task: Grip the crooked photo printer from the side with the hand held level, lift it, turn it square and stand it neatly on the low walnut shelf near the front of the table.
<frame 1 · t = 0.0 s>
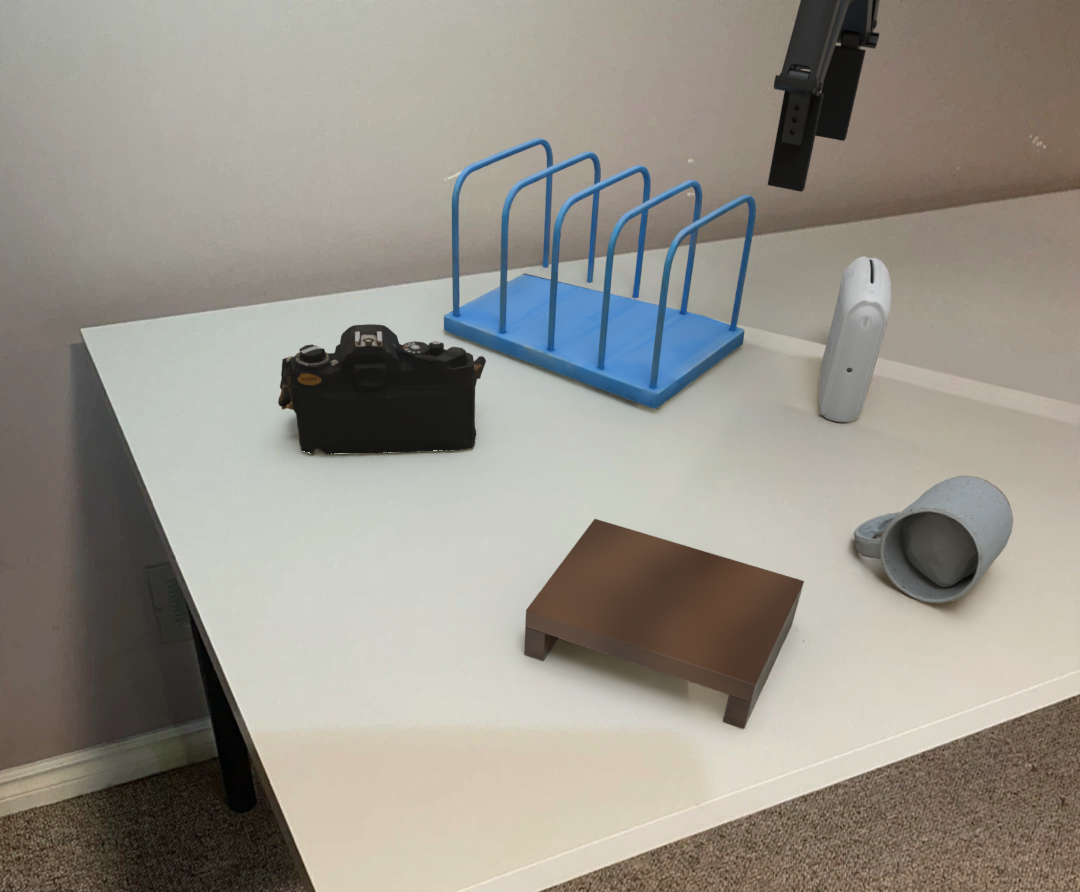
hand: (808, 161, 86), 21 cm above the table, tool pointing down, fingers open, 13 cm apart
ceramic mug: (916, 572, 84), on the table
photo printer: (838, 398, 102), on the table
shelf: (661, 639, 76), on the table
file sorter: (593, 342, 108), on the table
film camera: (380, 431, 95), on the table
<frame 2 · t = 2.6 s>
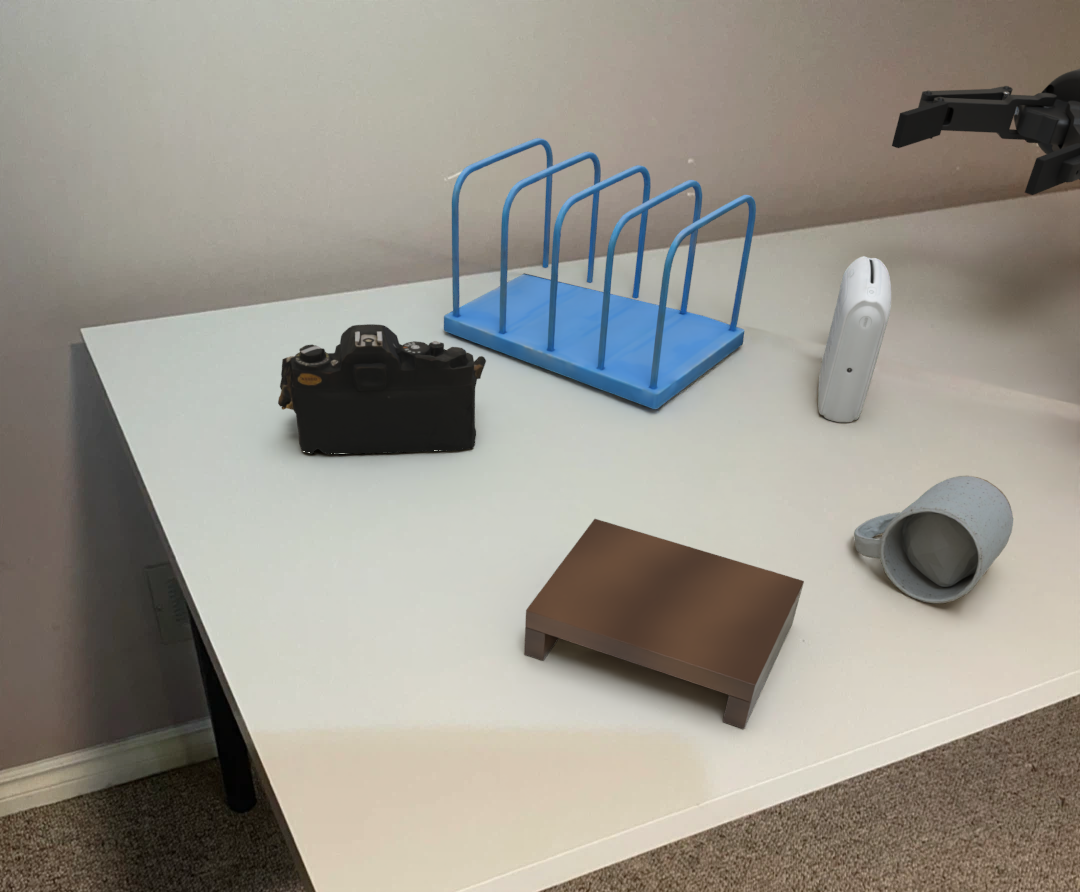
hand: (963, 153, 92), 20 cm above the table, tool horizontal, fingers open, 13 cm apart
nothing on the table moved.
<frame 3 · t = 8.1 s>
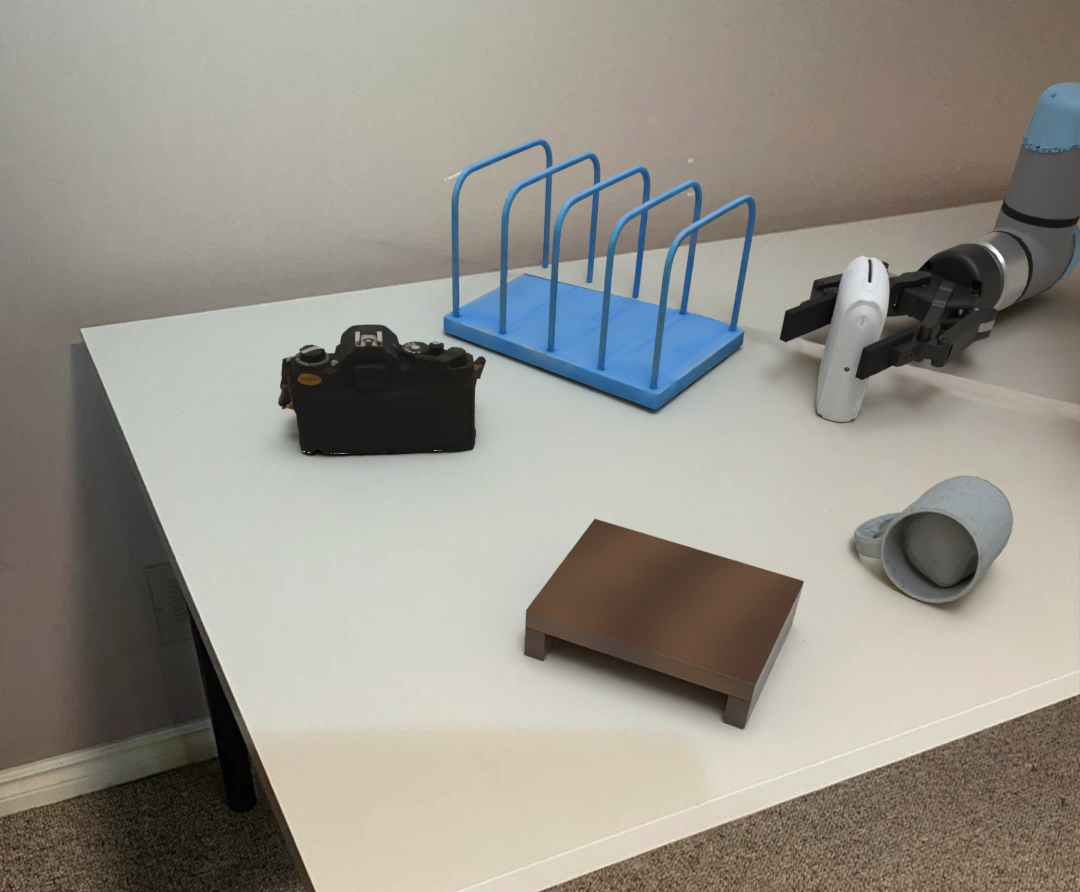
hand: (823, 344, 95), 7 cm above the table, tool horizontal, fingers closed on photo printer, 8 cm apart
photo printer: (837, 398, 102), on the table, touching gripper
everything else where it was.
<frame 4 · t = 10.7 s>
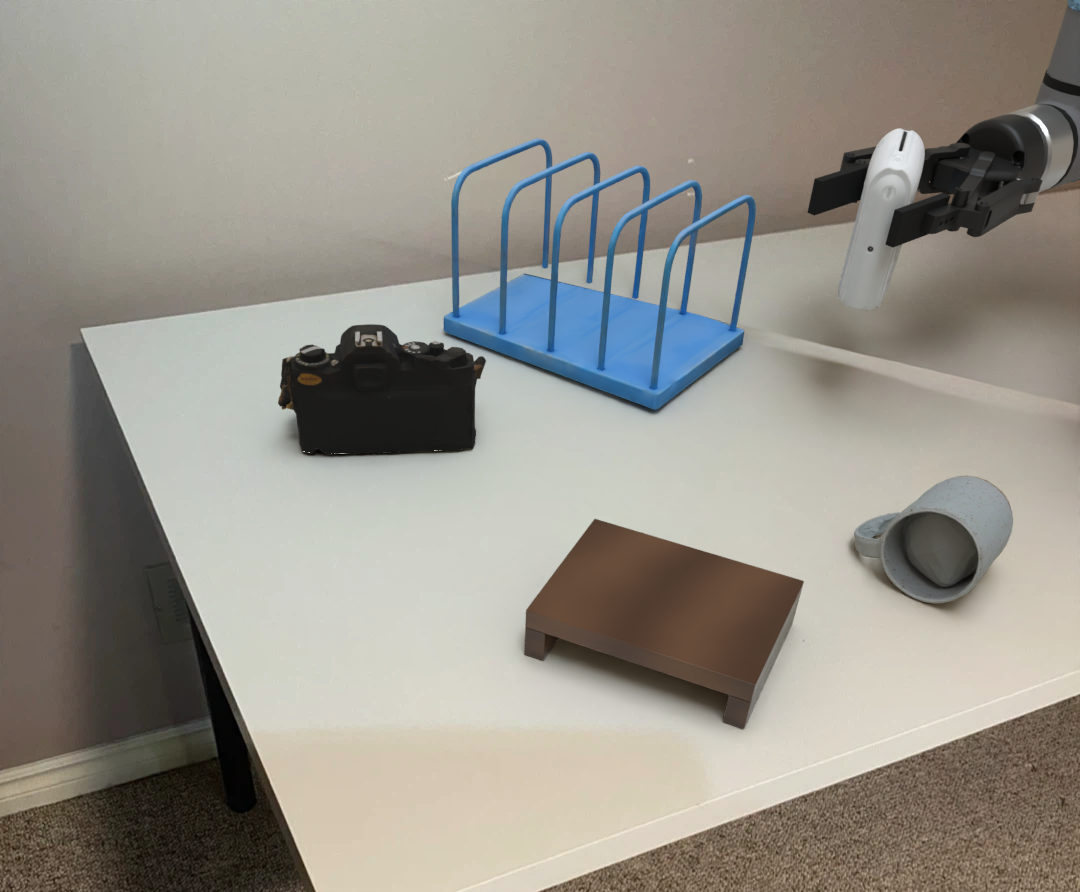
hand: (853, 212, 87), 18 cm above the table, tool horizontal, fingers closed on photo printer, 7 cm apart
photo printer: (863, 289, 95), point 10 cm above the table, touching gripper
everything else where it was.
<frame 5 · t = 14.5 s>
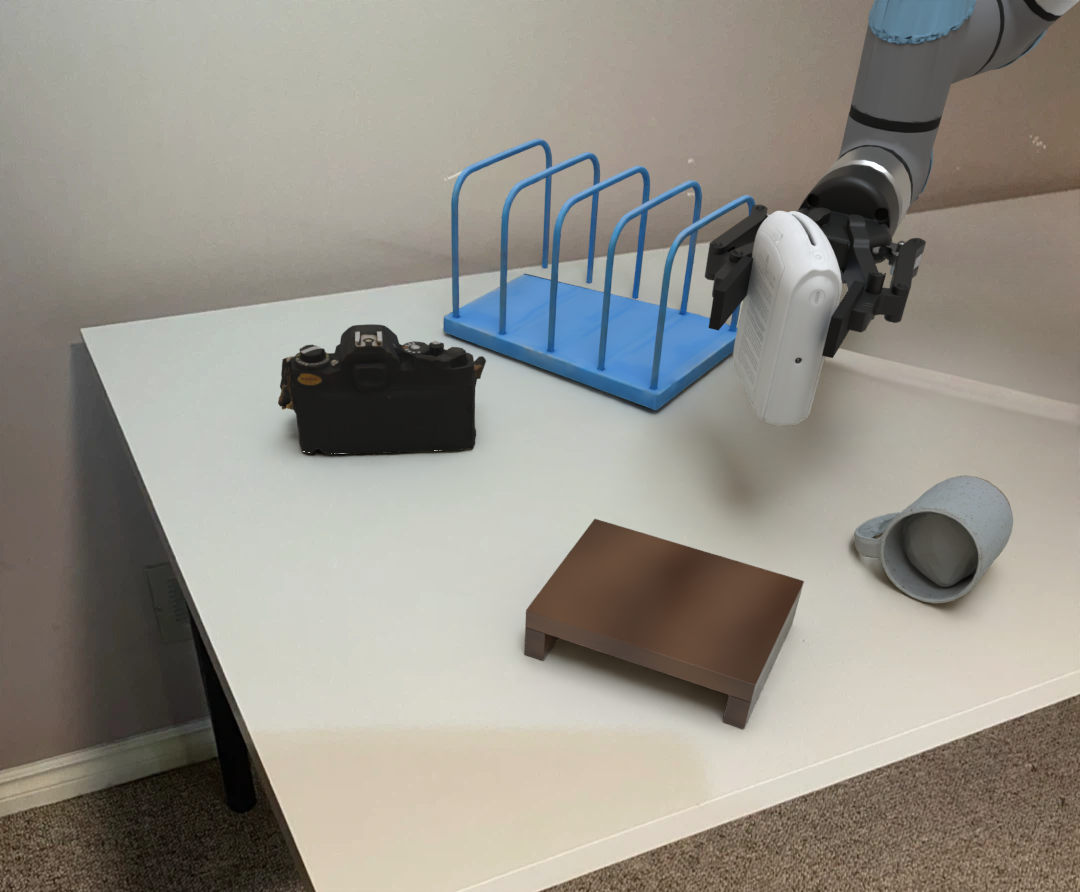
hand: (773, 323, 72), 18 cm above the table, tool horizontal, fingers closed on photo printer, 7 cm apart
photo printer: (767, 394, 81), point 10 cm above the table, touching gripper
everything else where it was.
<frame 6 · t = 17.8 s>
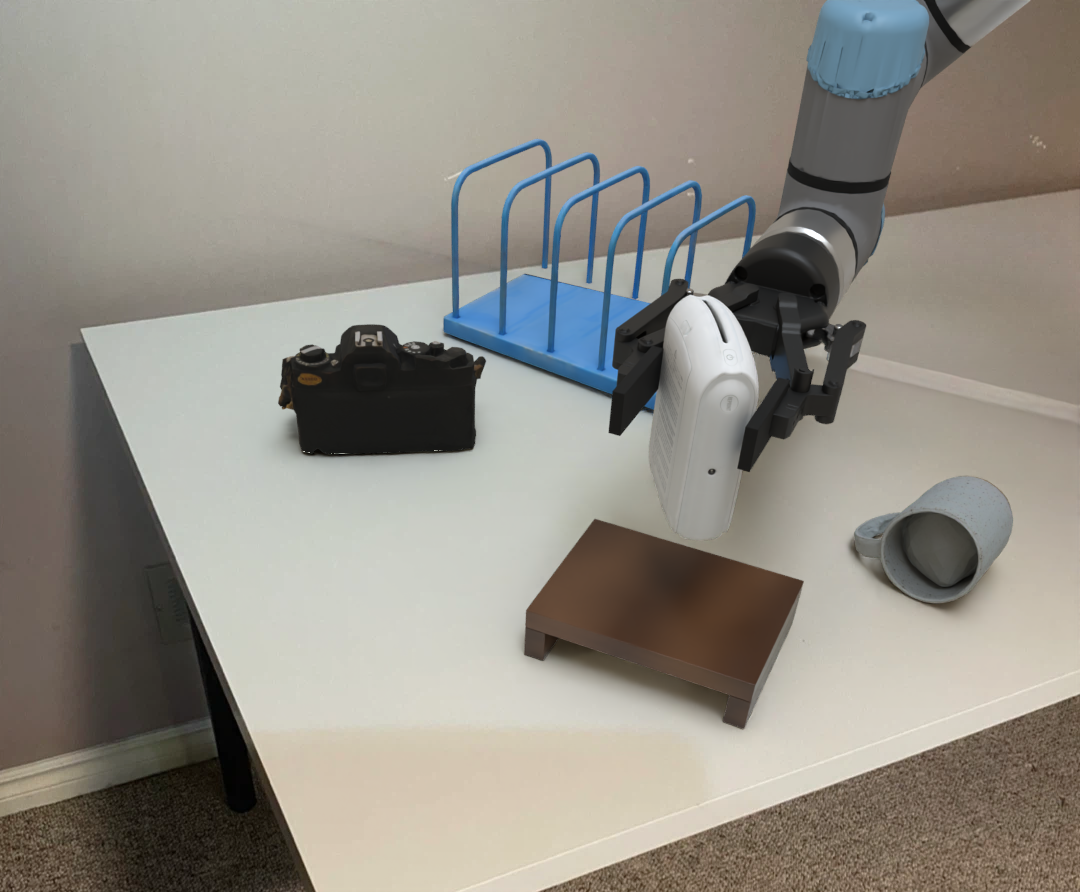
hand: (680, 431, 62), 18 cm above the table, tool horizontal, fingers closed on photo printer, 7 cm apart
photo printer: (685, 498, 71), point 10 cm above the table, touching gripper
everything else where it was.
when the fingers open (11 cm above the table, at t = 20.2 s): photo printer stays where it is, resting on shelf.
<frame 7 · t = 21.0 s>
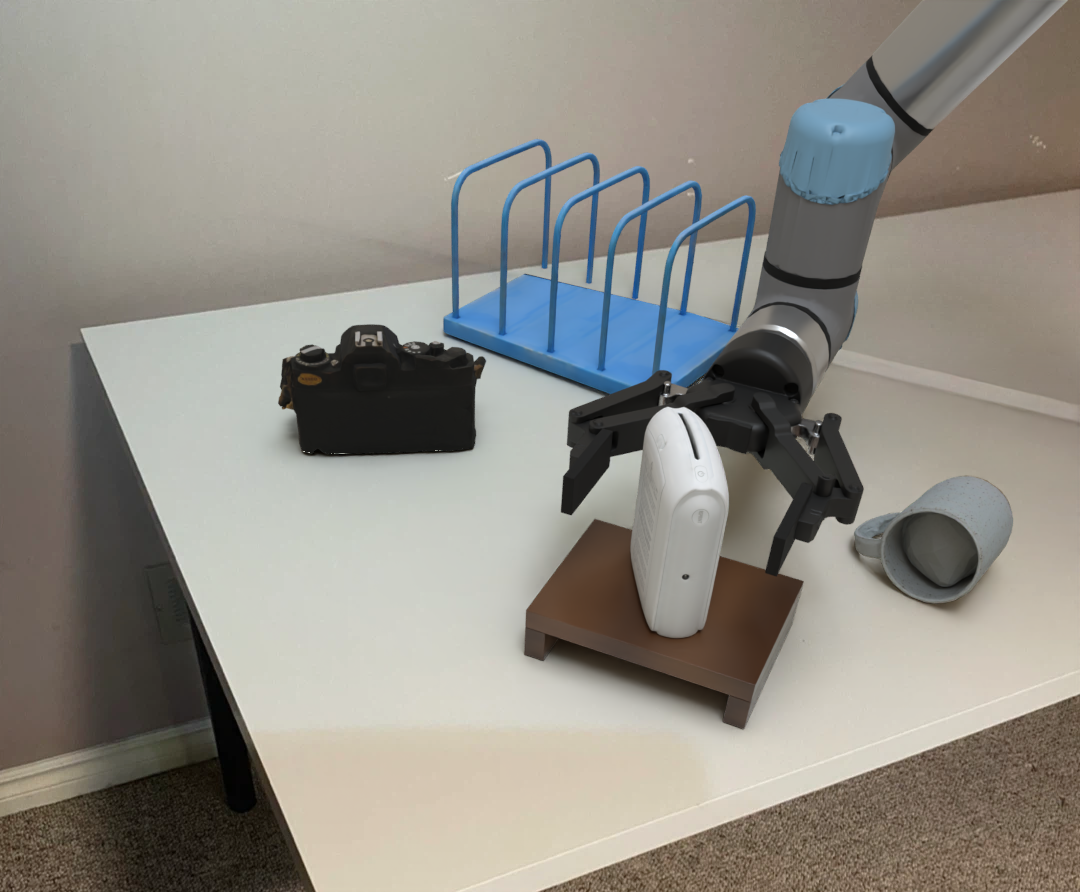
hand: (668, 526, 66), 12 cm above the table, tool horizontal, fingers open, 13 cm apart
photo printer: (664, 594, 74), point 4 cm above the table, touching shelf
everything else where it was.
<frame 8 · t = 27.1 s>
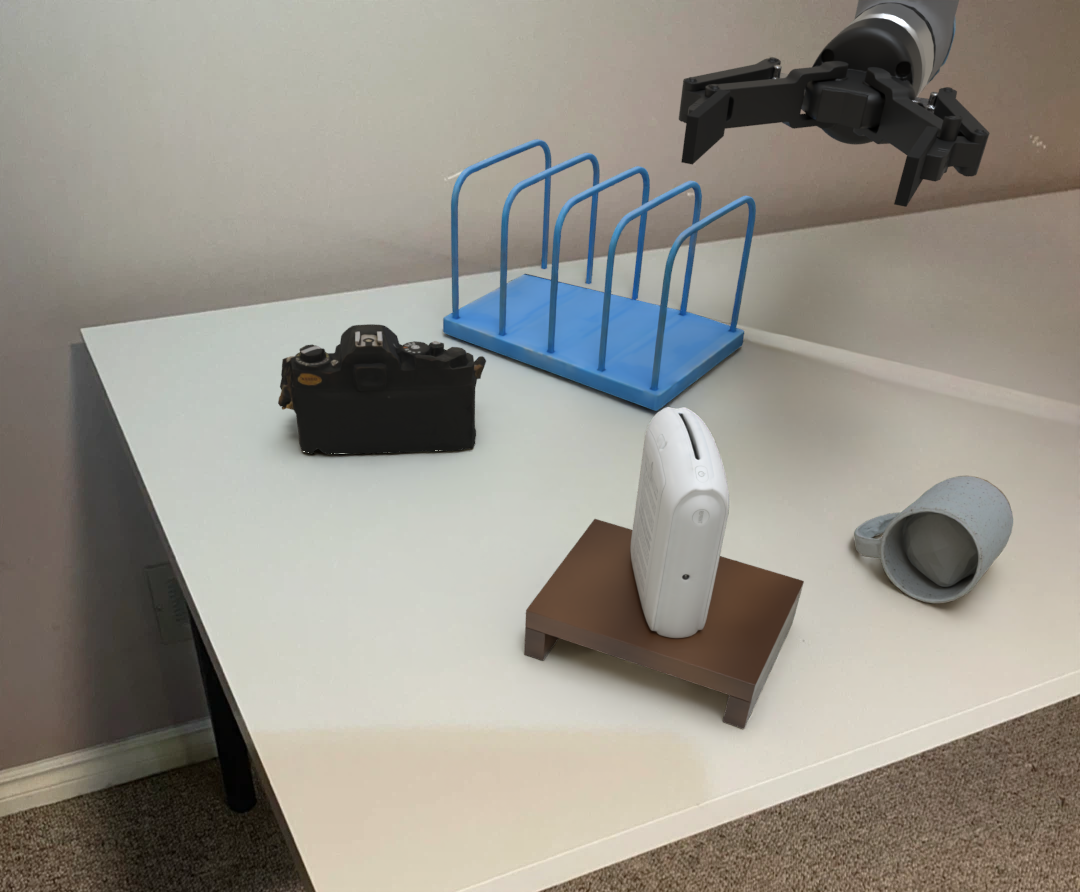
hand: (794, 160, 65), 28 cm above the table, tool horizontal, fingers open, 13 cm apart
nothing on the table moved.
at the end: photo printer inside the target area on the shelf (0.4 cm from its centre), point 3.8 cm above the shelf's base; photo printer tilted 0°; the gripper is holding nothing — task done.
